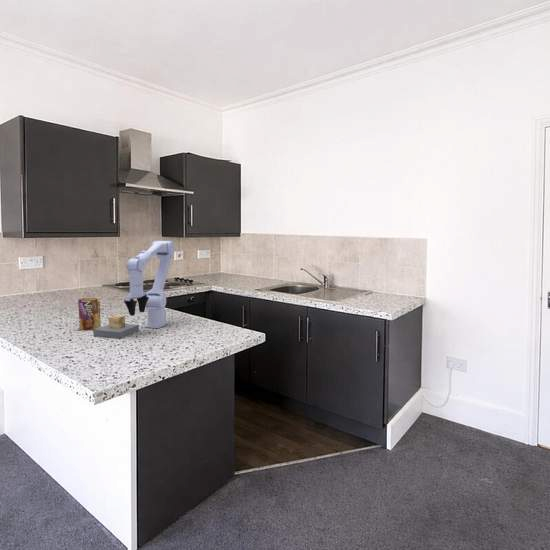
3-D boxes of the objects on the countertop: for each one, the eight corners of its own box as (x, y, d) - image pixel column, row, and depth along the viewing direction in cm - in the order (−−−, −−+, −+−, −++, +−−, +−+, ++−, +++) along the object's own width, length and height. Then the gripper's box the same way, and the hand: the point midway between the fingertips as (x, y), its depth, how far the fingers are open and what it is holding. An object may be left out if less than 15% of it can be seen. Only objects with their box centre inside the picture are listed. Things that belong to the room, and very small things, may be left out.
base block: (113, 328, 190) (113, 322, 190) (139, 331, 187) (138, 324, 186) (93, 336, 177) (93, 329, 177) (120, 338, 173) (120, 332, 173)
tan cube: (115, 325, 185) (115, 315, 184) (125, 326, 183) (124, 315, 183) (108, 328, 180) (108, 317, 179) (118, 329, 178) (118, 318, 178)
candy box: (101, 327, 193) (100, 296, 192) (98, 329, 189) (97, 298, 187) (81, 327, 192) (80, 297, 190) (79, 330, 187) (77, 298, 186)
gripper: (138, 282, 188) (138, 310, 189) (118, 286, 174) (119, 316, 175) (151, 283, 186) (151, 311, 188) (132, 287, 172) (133, 317, 174)
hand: (137, 313), depth 181 cm, fingers open, 7 cm apart
